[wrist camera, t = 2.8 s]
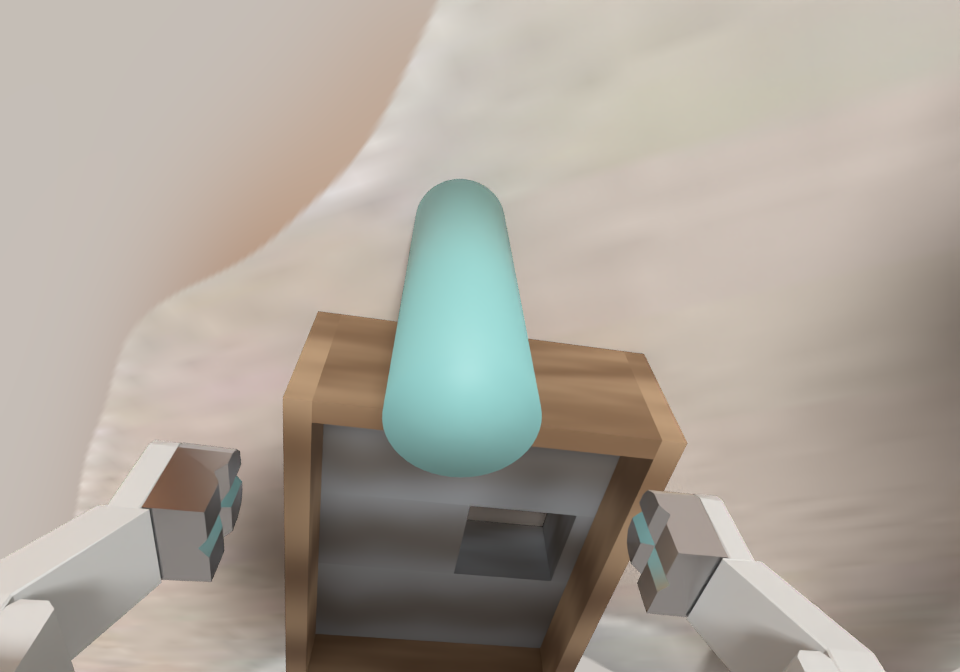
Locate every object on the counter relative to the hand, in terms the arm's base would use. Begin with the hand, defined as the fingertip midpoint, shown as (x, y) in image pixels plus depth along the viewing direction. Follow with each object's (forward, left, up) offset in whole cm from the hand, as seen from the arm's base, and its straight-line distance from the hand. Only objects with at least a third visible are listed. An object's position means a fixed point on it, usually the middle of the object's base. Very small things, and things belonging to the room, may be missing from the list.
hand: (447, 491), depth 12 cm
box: (+15, +2, -14) cm, 20 cm away
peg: (0, 0, -14) cm, 14 cm away
